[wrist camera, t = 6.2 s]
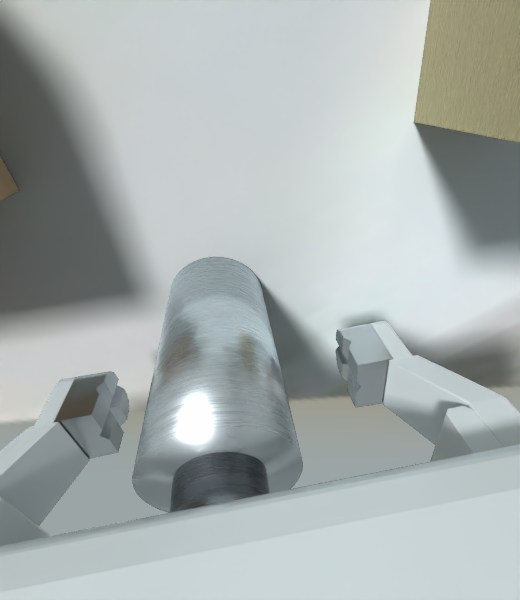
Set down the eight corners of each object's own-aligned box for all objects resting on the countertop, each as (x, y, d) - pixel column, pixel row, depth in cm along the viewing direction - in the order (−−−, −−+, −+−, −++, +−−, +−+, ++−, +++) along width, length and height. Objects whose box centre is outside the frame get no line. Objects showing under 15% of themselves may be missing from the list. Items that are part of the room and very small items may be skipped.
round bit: (157, 265, 12) (59, 592, 4) (256, 249, 12) (332, 539, 4) (183, 339, 14) (148, 646, 6) (266, 325, 14) (330, 609, 6)
